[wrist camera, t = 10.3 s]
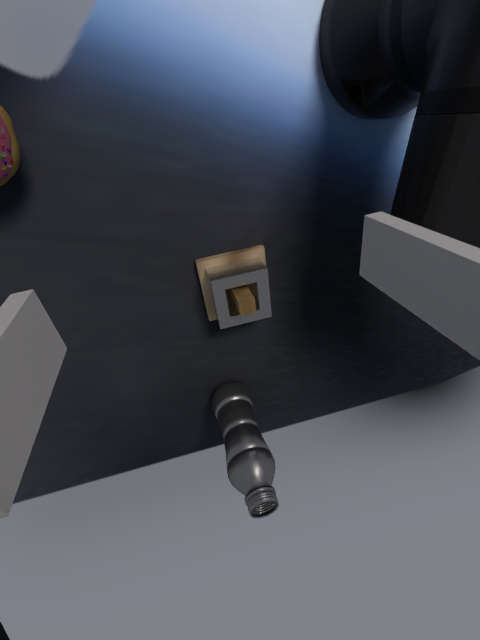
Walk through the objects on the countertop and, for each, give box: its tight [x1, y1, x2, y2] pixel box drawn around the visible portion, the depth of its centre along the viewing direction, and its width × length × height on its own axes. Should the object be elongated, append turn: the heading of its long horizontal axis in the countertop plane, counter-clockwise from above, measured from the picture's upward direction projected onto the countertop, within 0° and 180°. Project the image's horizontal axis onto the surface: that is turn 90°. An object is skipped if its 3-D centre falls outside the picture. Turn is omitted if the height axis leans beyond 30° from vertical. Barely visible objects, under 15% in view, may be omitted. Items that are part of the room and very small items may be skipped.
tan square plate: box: [195, 245, 266, 321], centre depth 40 cm, size 9×9×7 cm
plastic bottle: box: [212, 382, 279, 518], centre depth 45 cm, size 6×7×20 cm
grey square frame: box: [205, 257, 272, 329], centre depth 41 cm, size 7×7×4 cm
